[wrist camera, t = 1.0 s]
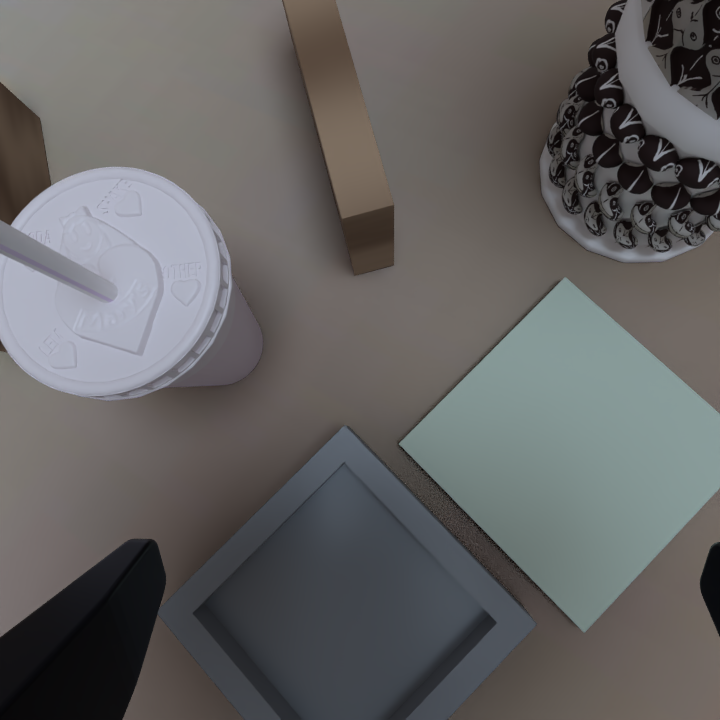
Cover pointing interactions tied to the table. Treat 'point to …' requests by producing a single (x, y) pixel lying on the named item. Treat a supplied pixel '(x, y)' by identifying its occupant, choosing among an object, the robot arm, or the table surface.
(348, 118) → the lane
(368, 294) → the table surface
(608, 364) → the mat
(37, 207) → the smoothie
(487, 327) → the table surface
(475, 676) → the tray
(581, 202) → the decorative candle
